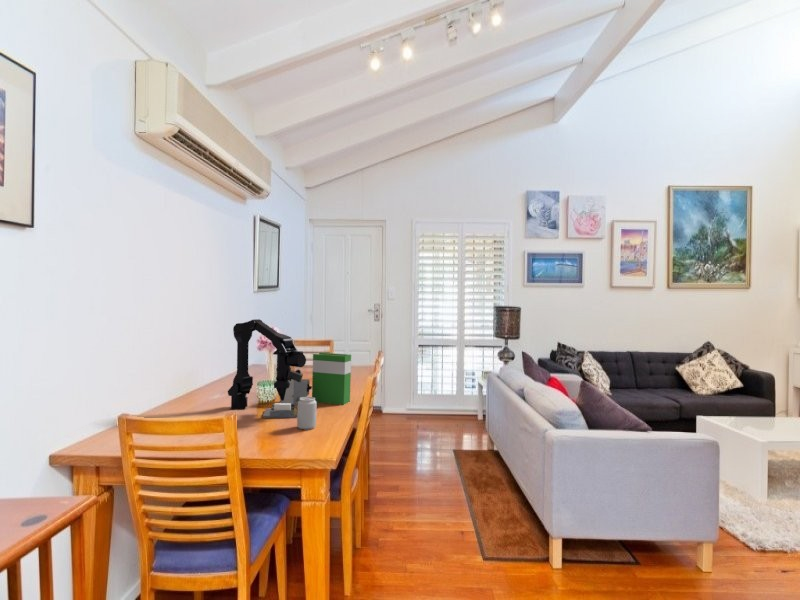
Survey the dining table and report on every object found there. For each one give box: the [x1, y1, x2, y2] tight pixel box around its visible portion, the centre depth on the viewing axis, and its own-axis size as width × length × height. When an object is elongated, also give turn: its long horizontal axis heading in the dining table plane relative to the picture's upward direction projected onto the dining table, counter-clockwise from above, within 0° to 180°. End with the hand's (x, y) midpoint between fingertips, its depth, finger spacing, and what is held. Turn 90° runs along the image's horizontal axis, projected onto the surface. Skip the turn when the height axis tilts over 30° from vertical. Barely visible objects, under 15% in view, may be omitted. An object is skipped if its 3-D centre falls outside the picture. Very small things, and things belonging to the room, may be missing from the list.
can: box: [296, 396, 318, 431], centre depth 181 cm, size 8×8×12 cm
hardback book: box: [311, 352, 352, 406], centre depth 228 cm, size 18×7×24 cm, turn 72°
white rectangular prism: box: [273, 402, 291, 410], centre depth 198 cm, size 7×3×4 cm, turn 99°
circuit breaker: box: [279, 378, 312, 406], centre depth 223 cm, size 8×14×15 cm, turn 89°
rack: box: [262, 403, 298, 419], centre depth 201 cm, size 16×13×3 cm
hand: (282, 400), depth 198 cm, fingers closed
